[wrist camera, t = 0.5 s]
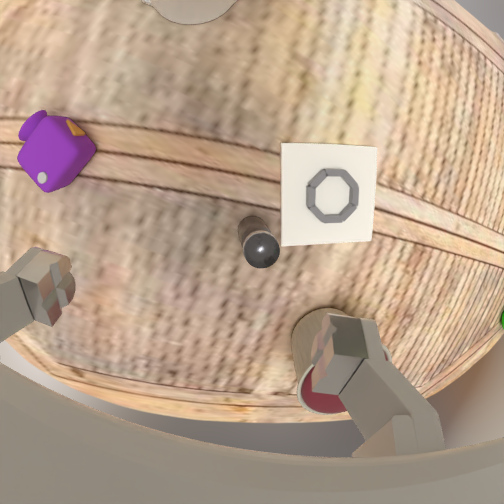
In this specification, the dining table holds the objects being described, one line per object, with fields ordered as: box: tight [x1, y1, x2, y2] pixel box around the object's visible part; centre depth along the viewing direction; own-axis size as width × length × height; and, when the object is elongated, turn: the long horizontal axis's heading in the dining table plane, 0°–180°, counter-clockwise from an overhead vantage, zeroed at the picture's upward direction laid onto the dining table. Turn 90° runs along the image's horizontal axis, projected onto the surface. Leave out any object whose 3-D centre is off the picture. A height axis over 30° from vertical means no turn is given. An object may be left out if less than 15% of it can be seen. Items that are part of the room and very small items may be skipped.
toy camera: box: [17, 110, 96, 193], centre depth 39 cm, size 11×14×10 cm
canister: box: [291, 308, 392, 415], centre depth 54 cm, size 18×18×21 cm
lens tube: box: [238, 216, 280, 268], centre depth 49 cm, size 5×5×11 cm
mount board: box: [280, 143, 377, 246], centre depth 52 cm, size 18×18×2 cm
